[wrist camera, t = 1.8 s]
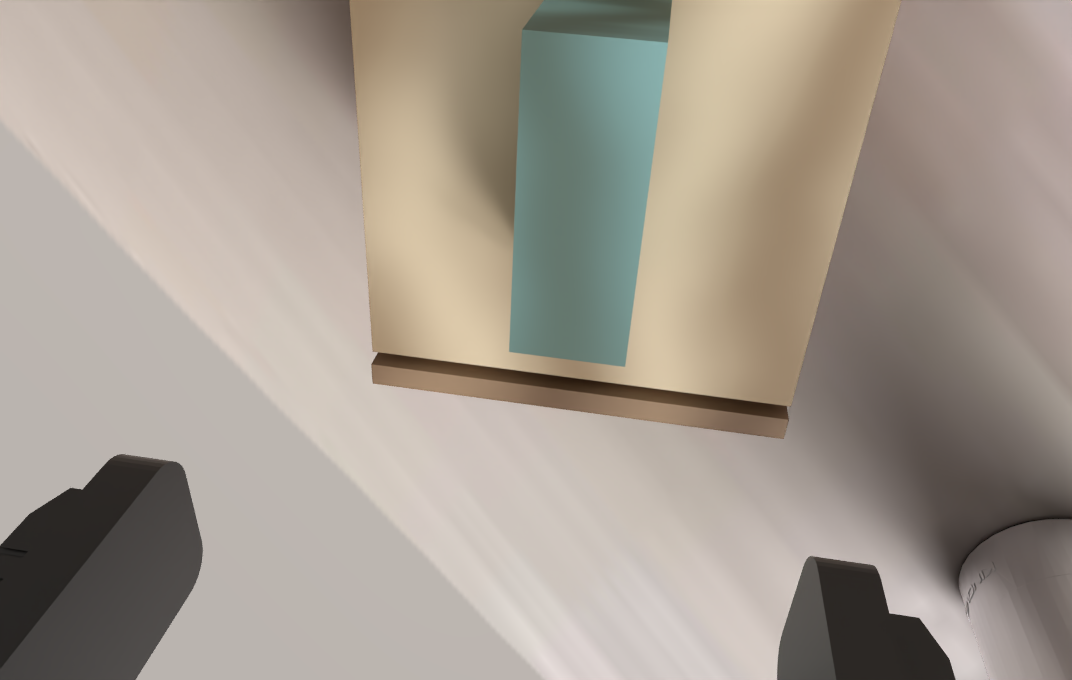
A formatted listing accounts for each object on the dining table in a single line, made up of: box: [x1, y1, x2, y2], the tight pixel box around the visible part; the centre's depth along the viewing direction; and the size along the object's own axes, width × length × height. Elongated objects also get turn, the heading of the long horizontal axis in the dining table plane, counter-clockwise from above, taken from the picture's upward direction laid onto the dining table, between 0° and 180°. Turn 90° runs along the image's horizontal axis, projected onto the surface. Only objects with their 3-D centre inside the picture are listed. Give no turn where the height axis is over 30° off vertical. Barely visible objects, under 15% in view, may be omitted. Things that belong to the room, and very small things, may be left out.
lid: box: [349, 0, 901, 406], centre depth 22 cm, size 14×16×6 cm
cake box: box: [371, 352, 789, 439], centre depth 29 cm, size 14×19×15 cm
